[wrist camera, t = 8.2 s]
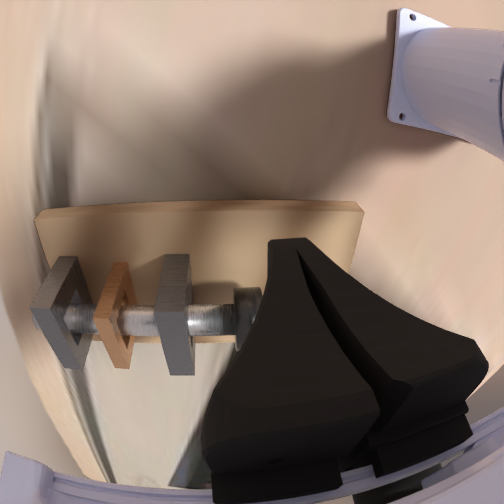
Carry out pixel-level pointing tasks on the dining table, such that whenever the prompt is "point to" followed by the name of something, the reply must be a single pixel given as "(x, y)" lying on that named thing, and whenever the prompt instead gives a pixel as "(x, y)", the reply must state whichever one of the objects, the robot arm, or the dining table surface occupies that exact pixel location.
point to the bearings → (113, 295)
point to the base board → (194, 242)
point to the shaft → (199, 317)
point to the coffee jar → (395, 488)
